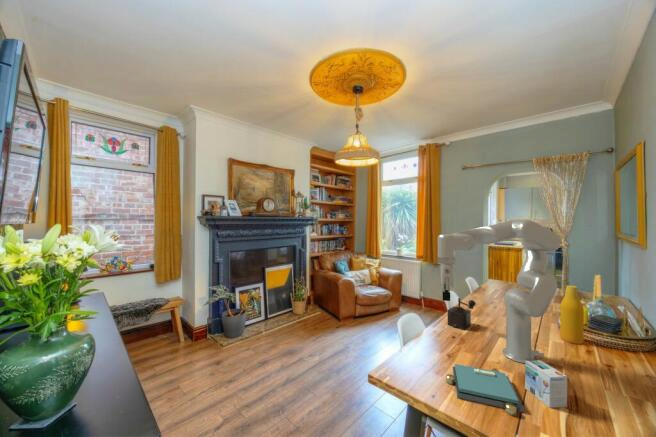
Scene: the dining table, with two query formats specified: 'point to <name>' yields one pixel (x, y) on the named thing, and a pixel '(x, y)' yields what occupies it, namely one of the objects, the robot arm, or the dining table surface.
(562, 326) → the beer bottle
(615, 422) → the dining table surface
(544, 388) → the light bulb box
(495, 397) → the plate
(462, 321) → the black box
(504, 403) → the base
